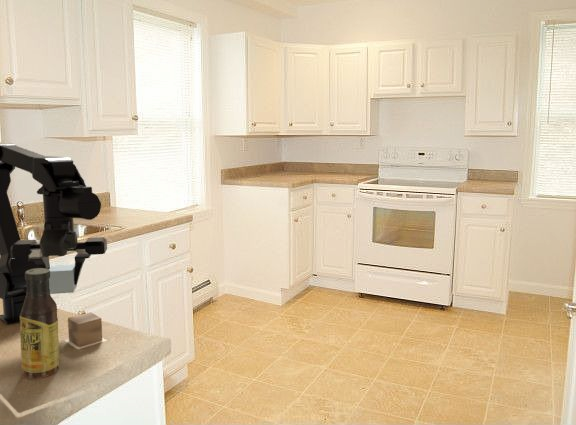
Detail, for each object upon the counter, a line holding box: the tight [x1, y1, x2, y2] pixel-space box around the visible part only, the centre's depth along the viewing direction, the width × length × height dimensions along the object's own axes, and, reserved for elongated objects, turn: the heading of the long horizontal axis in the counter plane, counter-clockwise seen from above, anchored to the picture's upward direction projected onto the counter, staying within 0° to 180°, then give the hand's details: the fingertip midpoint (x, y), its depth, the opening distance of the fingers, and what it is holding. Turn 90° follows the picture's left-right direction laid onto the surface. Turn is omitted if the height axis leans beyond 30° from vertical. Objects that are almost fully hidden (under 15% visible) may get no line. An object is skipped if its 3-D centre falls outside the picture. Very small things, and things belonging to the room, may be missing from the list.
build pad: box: [64, 337, 108, 350], centre depth 107 cm, size 10×10×1 cm
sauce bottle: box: [19, 268, 60, 379], centre depth 92 cm, size 7×6×20 cm
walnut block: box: [67, 311, 103, 347], centre depth 107 cm, size 5×5×5 cm
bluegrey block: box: [49, 264, 78, 295], centre depth 111 cm, size 5×5×5 cm
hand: (62, 285), depth 111 cm, fingers closed on bluegrey block, 5 cm apart
